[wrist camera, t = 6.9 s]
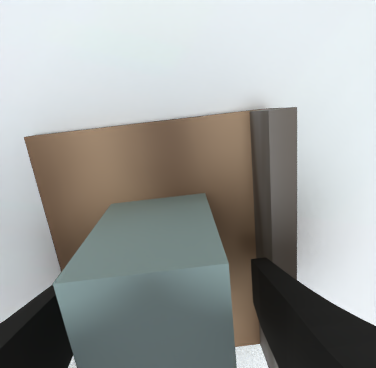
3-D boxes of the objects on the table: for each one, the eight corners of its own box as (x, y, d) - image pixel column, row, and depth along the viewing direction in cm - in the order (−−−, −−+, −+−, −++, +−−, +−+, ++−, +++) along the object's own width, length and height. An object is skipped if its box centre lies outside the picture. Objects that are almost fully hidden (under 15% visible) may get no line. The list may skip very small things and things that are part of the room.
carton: (132, 308, 14) (99, 446, 8) (111, 203, 12) (52, 284, 7) (217, 297, 14) (244, 428, 8) (207, 192, 12) (233, 262, 7)
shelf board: (91, 352, 16) (69, 413, 12) (33, 135, 12) (-18, 143, 9) (275, 330, 16) (300, 385, 13) (270, 108, 12) (302, 106, 9)
